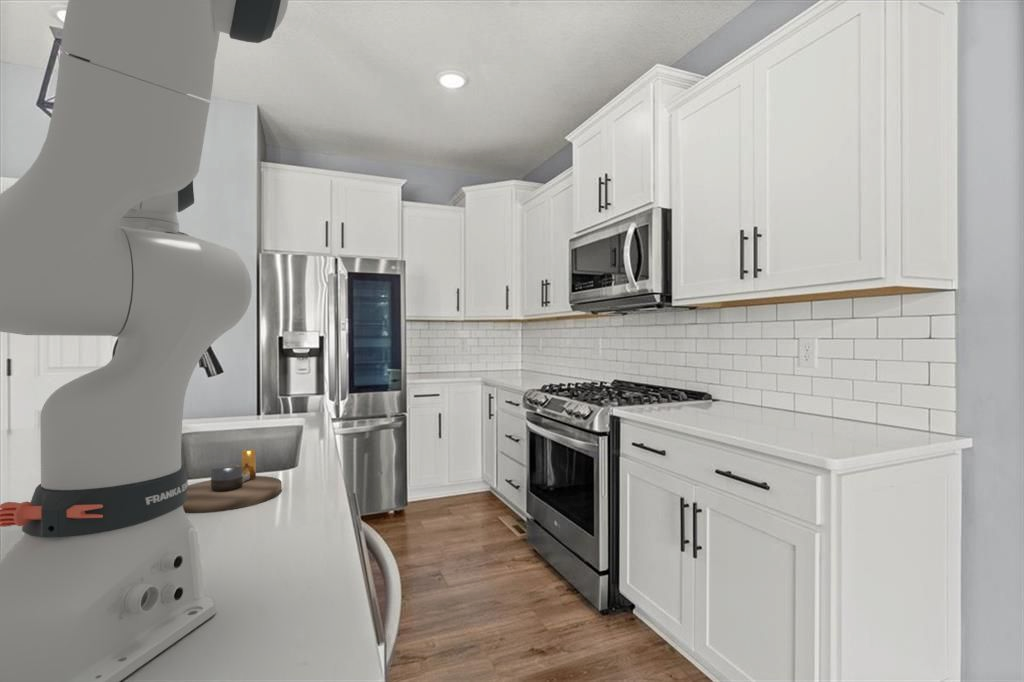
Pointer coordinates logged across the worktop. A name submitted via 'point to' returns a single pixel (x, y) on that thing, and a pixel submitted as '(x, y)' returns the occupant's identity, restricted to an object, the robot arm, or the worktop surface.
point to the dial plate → (231, 495)
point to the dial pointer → (234, 472)
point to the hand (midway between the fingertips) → (148, 323)
